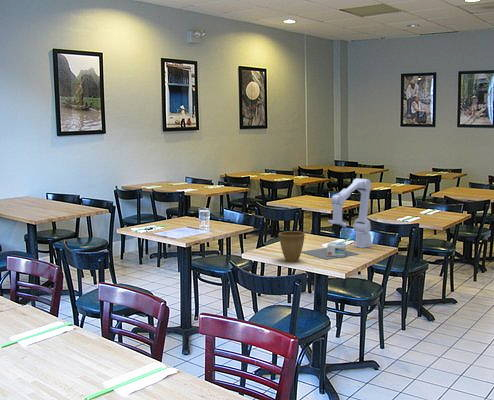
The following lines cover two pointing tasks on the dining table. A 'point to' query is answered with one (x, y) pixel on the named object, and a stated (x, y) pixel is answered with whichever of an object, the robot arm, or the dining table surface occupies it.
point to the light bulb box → (336, 249)
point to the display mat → (325, 253)
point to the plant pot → (291, 244)
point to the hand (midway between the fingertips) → (337, 236)
